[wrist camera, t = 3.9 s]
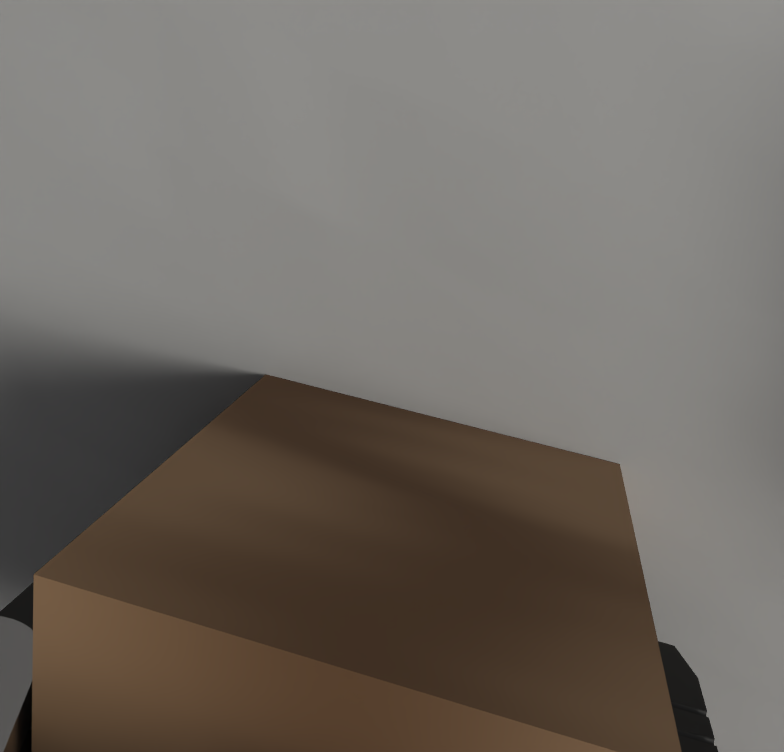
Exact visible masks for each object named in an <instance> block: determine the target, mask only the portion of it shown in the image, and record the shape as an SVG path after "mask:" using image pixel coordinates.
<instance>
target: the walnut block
mask: <svg viewBox="0 0 784 752" xmlns="http://www.w3.org/2000/svg"><path fill="white" fill-rule="evenodd" d="M32 752H682V751H681V747H680V742H679V737H678V733H677V728H676V723H675V719H674V714H673V710H672V705H671V700H670V696H669V691H668V686H667V682H666V677H665V672H664V668H663V663H662V659H661V654H660V649H659V645H658V640H657V635H656V631H655V626H654V621H653V617H652V612H651V607H650V603H649V598H648V594H647V589H646V584H645V580H644V575H643V570H642V566H641V561H640V556H639V552H638V547H637V543H636V538H635V533H634V529H633V524H632V519H631V515H630V510H629V505H628V501H627V496H626V492H625V487H624V482H623V478H622V473H621V468H620V464H617V463H613V462H609V461H605V460H601V459H597V458H593V457H589V456H585V455H582V454H578V453H574V452H570V451H566V450H562V449H558V448H554V447H550V446H546V445H542V444H538V443H534V442H530V441H526V440H522V439H518V438H514V437H511V436H507V435H503V434H499V433H495V432H491V431H487V430H483V429H479V428H475V427H471V426H467V425H463V424H459V423H455V422H451V421H447V420H443V419H440V418H436V417H432V416H428V415H424V414H420V413H416V412H412V411H408V410H404V409H400V408H396V407H392V406H388V405H384V404H380V403H376V402H372V401H369V400H365V399H361V398H357V397H353V396H349V395H345V394H341V393H337V392H333V391H329V390H325V389H321V388H317V387H313V386H309V385H305V384H301V383H298V382H294V381H290V380H286V379H282V378H278V377H274V376H270V375H265V376H264V377H262V378H261V379H260V380H259V381H258V382H257V383H255V384H254V385H253V386H252V387H251V388H250V389H248V390H247V391H246V392H245V393H244V394H243V395H241V396H240V397H239V398H238V399H237V400H236V401H235V402H233V403H232V404H231V405H230V406H229V407H228V408H226V409H225V410H224V411H223V412H222V413H221V414H219V415H218V416H217V417H216V418H215V419H214V420H212V421H211V422H210V423H209V424H208V425H207V426H205V427H204V428H203V429H202V430H201V431H200V432H199V433H197V434H196V435H195V436H194V437H193V438H192V439H190V440H189V441H188V442H187V443H186V444H185V445H183V446H182V447H181V448H180V449H179V450H178V451H176V452H175V453H174V454H173V455H172V456H171V457H169V458H168V459H167V460H166V461H165V462H164V463H163V464H161V465H160V466H159V467H158V468H157V469H156V470H154V471H153V472H152V473H151V474H150V475H149V476H147V477H146V478H145V479H144V480H143V481H142V482H140V483H139V484H138V485H137V486H136V487H135V488H133V489H132V490H131V491H130V492H129V493H128V494H126V495H125V496H124V497H123V498H122V499H121V500H120V501H118V502H117V503H116V504H115V505H114V506H113V507H111V508H110V509H109V510H108V511H107V512H106V513H104V514H103V515H102V516H101V517H100V518H99V519H97V520H96V521H95V522H94V523H93V524H92V525H90V526H89V527H88V528H87V529H86V530H85V531H84V532H82V533H81V534H80V535H79V536H78V537H77V538H75V539H74V540H73V541H72V542H71V543H70V544H68V545H67V546H66V547H65V548H64V549H63V550H61V551H60V552H59V553H58V554H57V555H56V556H54V557H53V558H52V559H51V560H50V561H49V562H48V563H46V564H45V565H44V566H43V567H42V568H41V569H39V570H38V571H37V572H36V573H35V574H34V585H33V669H32Z"/></svg>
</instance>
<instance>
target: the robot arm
mask: <svg viewBox="0 0 784 752" xmlns="http://www.w3.org/2000/svg"><path fill="white" fill-rule="evenodd" d="M33 585H34V582H33V583H32V584H31V585H30V586H29V587H28V588H27V589H25V590H24V591H23V592H22V593H21V594H20V595H19V596H17V597H16V598H15V599H14V600H13V601H12V602H11V603H10V604H8V605H7V606H6V607H5V608H4V609H3V610H2V611H0V752H32V669H33ZM658 645H659V649H660V654H661V659H662V663H663V668H664V672H665V677H666V682H667V686H668V691H669V696H670V700H671V705H672V710H673V714H674V719H675V723H676V728H677V733H678V737H679V742H680V747H681V751H682V752H718V750H717V746H714V735H713V731H712V728H711V724H710V720H709V718H708V717H706V712H707V709H706V706H705V702H704V699H703V695H702V691H701V688H700V684H699V680H698V678H697V676H696V675H695V673H694V672H693V671H692V669H691V668H690V667H689V665H688V664H687V663H686V661H685V660H684V658H683V657H682V656H681V654H680V653H679V652H678V650H677V649H676V648H675V646H673V645H669V644H666V643H662V642H659V641H658Z"/></svg>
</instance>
